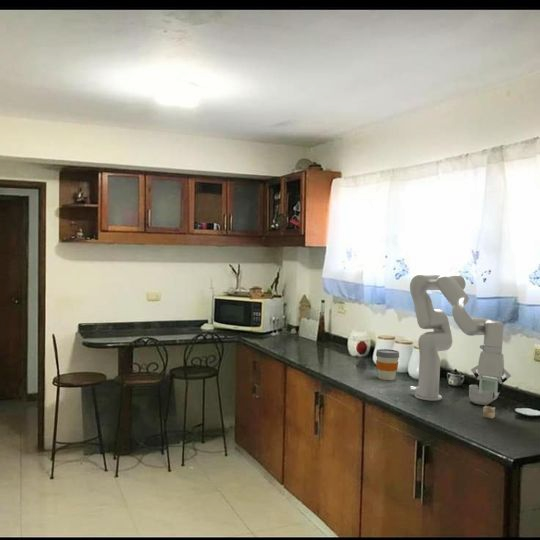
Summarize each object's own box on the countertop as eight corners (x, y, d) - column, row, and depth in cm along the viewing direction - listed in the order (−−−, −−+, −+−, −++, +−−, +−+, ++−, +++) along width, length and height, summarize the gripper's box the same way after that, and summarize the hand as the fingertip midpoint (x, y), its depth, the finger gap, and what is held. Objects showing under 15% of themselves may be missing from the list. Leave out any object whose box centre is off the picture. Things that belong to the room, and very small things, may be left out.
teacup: (463, 401, 271) (464, 384, 271) (481, 399, 275) (482, 383, 275) (484, 409, 258) (485, 391, 258) (503, 407, 262) (504, 390, 262)
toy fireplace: (478, 392, 247) (479, 378, 246) (482, 390, 252) (483, 375, 252) (496, 396, 243) (497, 381, 242) (499, 393, 248) (500, 378, 248)
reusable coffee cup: (394, 381, 307) (395, 354, 306) (371, 378, 313) (372, 351, 312) (401, 377, 318) (402, 351, 317) (379, 374, 324) (380, 348, 323)
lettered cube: (482, 416, 246) (483, 407, 246) (485, 414, 249) (485, 405, 249) (492, 418, 244) (493, 409, 244) (494, 416, 247) (495, 407, 247)
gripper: (469, 347, 248) (466, 388, 249) (512, 354, 238) (509, 396, 239) (473, 345, 254) (470, 385, 255) (515, 351, 245) (512, 392, 246)
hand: (489, 390), depth 247 cm, fingers closed on toy fireplace, 7 cm apart
